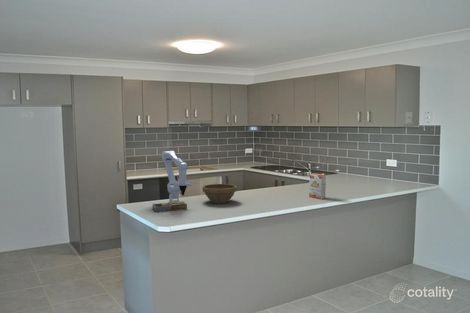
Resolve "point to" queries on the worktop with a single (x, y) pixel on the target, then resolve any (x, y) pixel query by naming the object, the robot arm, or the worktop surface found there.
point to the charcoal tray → (158, 207)
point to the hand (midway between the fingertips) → (182, 195)
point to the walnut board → (178, 205)
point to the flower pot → (219, 192)
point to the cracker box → (317, 186)
